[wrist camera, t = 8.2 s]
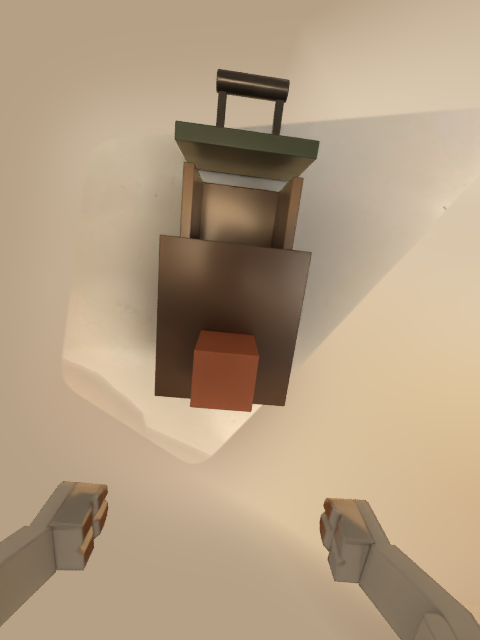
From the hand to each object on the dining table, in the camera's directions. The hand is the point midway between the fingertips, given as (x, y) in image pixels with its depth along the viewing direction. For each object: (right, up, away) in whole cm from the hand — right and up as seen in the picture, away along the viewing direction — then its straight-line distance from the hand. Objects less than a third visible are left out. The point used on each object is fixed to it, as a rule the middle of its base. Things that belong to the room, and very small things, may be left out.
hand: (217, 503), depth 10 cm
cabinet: (0, +9, +22) cm, 23 cm away
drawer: (+1, +19, +18) cm, 26 cm away
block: (0, +4, +13) cm, 14 cm away
